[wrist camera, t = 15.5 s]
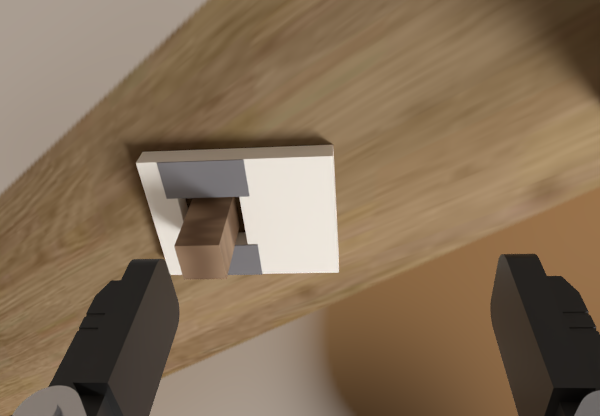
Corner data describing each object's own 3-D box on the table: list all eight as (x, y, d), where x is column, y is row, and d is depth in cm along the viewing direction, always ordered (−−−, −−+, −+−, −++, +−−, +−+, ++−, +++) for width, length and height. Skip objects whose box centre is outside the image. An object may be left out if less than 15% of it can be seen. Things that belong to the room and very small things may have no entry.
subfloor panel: (333, 144, 48) (332, 156, 47) (338, 259, 57) (338, 273, 55) (142, 151, 50) (135, 163, 49) (174, 262, 59) (169, 275, 57)
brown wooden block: (234, 192, 52) (219, 245, 46) (240, 224, 55) (226, 278, 48) (194, 193, 53) (174, 246, 46) (202, 225, 55) (183, 279, 49)
